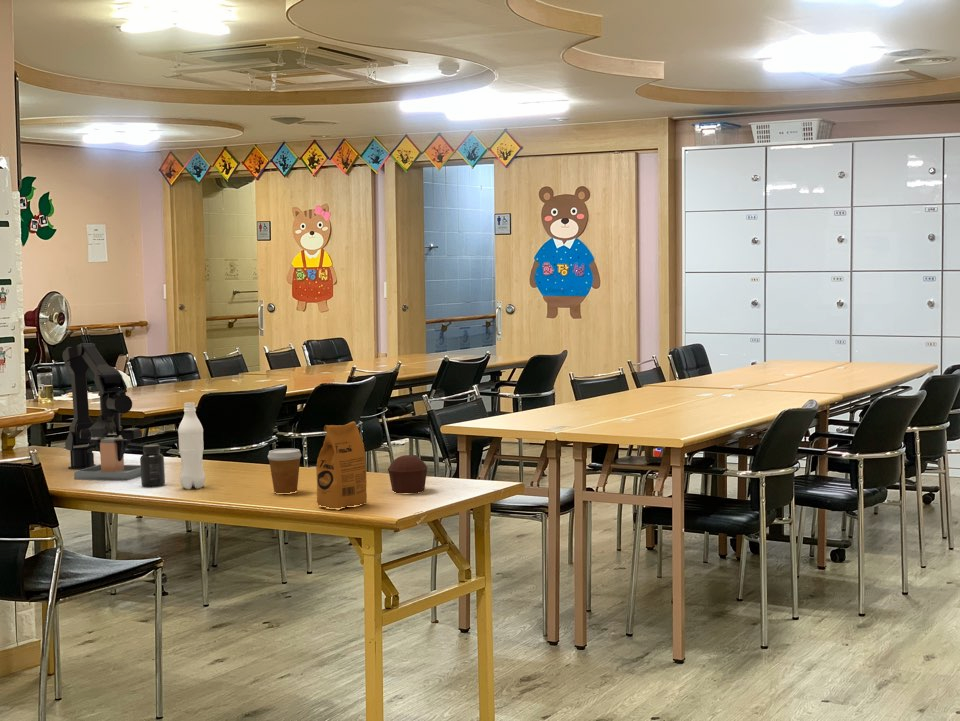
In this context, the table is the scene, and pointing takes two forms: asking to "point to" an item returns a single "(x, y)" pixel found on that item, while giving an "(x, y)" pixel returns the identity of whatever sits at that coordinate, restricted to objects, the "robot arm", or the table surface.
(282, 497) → the table surface
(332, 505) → the coffee package
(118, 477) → the tray
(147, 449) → the supplement bottle
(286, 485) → the disposable coffee cup
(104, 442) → the tall box
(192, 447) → the water bottle
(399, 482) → the muffin
